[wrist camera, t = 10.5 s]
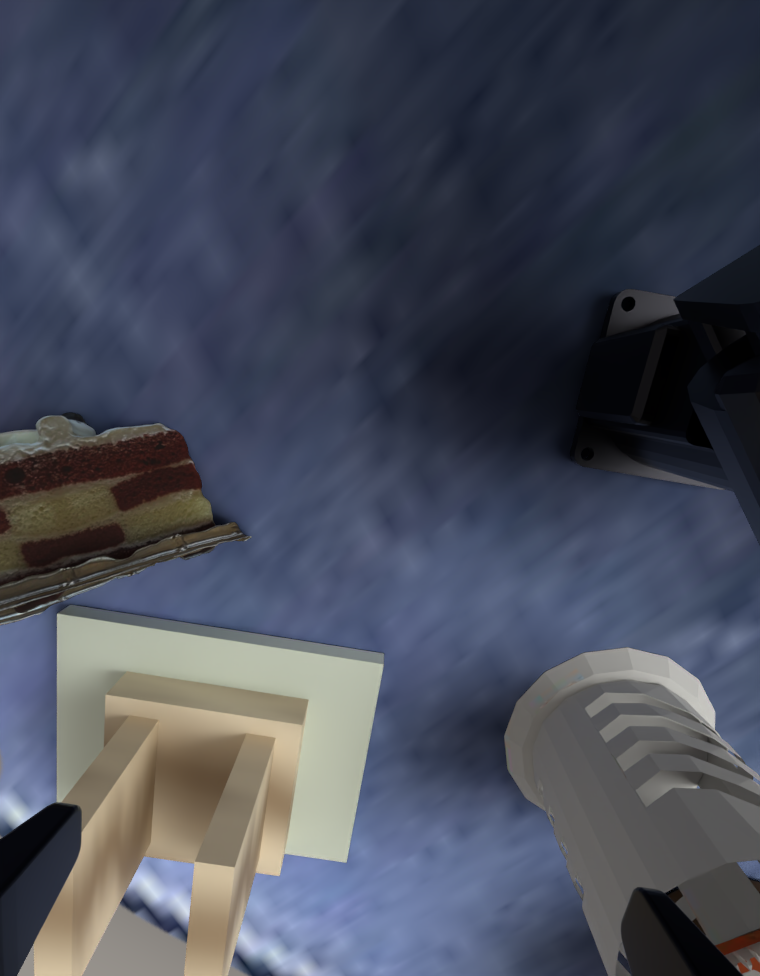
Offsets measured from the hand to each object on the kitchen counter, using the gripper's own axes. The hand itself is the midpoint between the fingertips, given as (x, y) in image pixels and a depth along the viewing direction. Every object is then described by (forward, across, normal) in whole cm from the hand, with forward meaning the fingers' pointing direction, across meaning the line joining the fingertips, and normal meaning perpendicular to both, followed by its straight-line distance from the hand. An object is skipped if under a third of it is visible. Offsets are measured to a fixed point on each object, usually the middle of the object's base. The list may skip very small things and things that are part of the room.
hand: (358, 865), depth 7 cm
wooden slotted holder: (+11, +6, +10) cm, 16 cm away
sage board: (+12, +6, +10) cm, 16 cm away
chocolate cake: (+12, +12, -1) cm, 17 cm away
